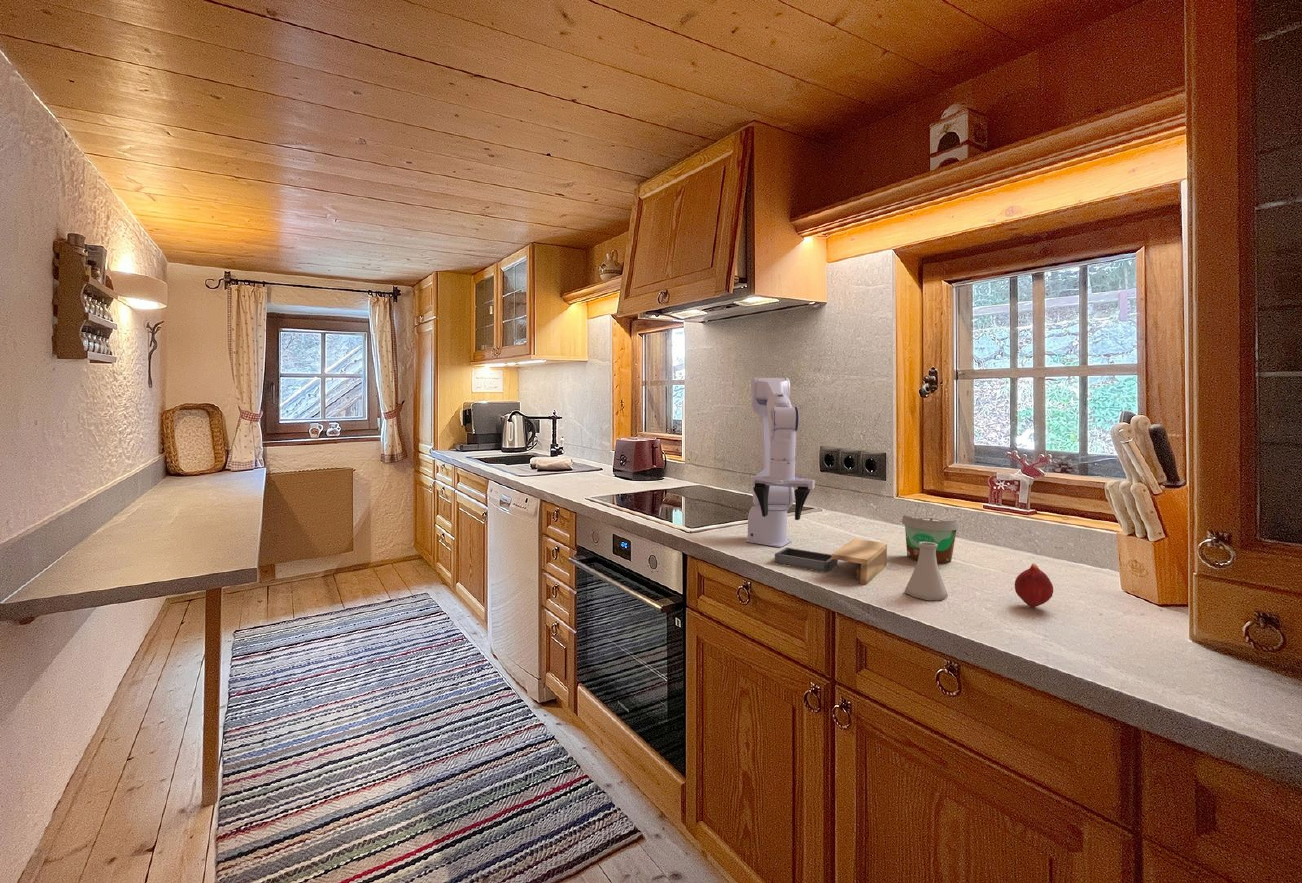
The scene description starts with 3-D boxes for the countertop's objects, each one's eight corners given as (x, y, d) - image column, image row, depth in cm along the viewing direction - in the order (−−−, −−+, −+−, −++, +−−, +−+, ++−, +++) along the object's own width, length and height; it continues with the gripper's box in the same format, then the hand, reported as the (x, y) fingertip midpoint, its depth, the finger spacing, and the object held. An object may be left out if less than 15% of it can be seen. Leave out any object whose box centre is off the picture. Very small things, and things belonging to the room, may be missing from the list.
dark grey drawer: (774, 564, 134) (774, 554, 134) (786, 557, 140) (786, 547, 140) (827, 574, 128) (827, 562, 127) (837, 566, 133) (837, 555, 133)
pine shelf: (830, 578, 124) (831, 554, 123) (853, 560, 137) (854, 538, 136) (866, 584, 120) (867, 559, 119) (886, 565, 133) (887, 543, 132)
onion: (1059, 611, 105) (1062, 567, 105) (1034, 614, 104) (1037, 569, 103) (1030, 600, 111) (1032, 558, 110) (1005, 603, 109) (1008, 560, 109)
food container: (897, 561, 137) (899, 518, 136) (900, 554, 142) (902, 513, 141) (958, 568, 131) (960, 523, 130) (958, 561, 136) (960, 518, 135)
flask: (929, 604, 109) (932, 550, 108) (896, 592, 115) (898, 541, 114) (955, 598, 112) (957, 545, 111) (922, 586, 119) (924, 537, 118)
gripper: (746, 458, 137) (745, 517, 138) (810, 462, 130) (808, 524, 131) (756, 456, 143) (755, 512, 144) (817, 459, 136) (815, 518, 137)
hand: (781, 517), depth 138 cm, fingers open, 7 cm apart
